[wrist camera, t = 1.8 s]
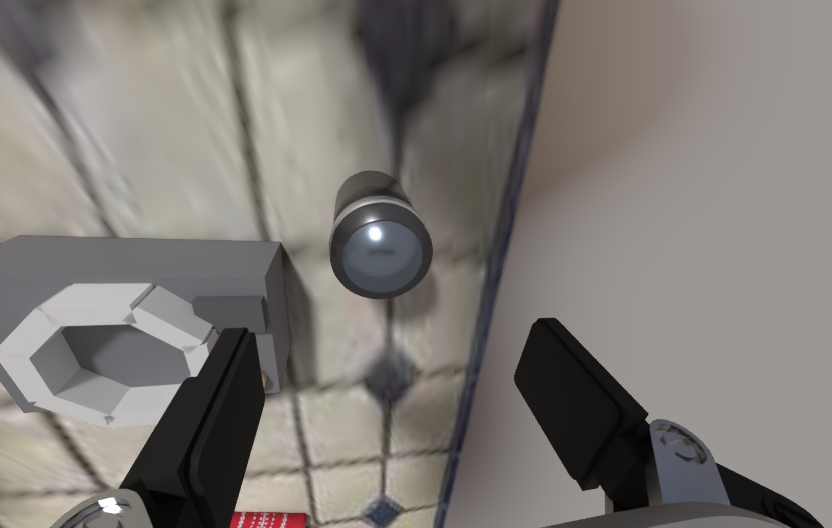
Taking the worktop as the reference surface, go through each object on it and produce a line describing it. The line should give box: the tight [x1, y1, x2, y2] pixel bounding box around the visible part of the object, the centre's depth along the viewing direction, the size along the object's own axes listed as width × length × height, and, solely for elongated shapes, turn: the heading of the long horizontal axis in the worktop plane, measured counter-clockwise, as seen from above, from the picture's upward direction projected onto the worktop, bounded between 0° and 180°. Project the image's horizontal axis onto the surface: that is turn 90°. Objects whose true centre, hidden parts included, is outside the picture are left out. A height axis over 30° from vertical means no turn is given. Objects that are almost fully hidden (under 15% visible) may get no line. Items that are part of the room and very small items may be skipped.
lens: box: [329, 171, 433, 299], centre depth 19 cm, size 5×5×8 cm
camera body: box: [0, 235, 291, 429], centre depth 20 cm, size 10×15×7 cm, turn 84°
